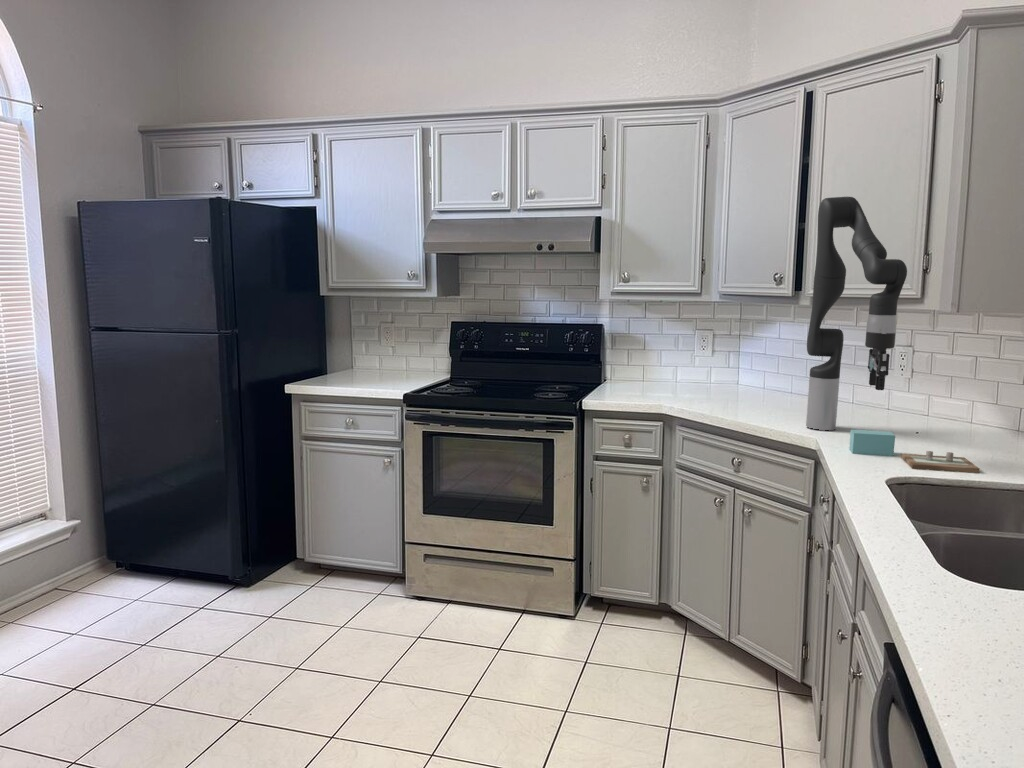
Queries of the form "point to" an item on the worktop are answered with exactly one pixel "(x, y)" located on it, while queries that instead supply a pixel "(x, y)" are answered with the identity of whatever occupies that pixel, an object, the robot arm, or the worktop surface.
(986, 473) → the worktop surface
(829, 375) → the robot arm
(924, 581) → the worktop surface
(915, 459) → the stub base
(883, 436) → the block
